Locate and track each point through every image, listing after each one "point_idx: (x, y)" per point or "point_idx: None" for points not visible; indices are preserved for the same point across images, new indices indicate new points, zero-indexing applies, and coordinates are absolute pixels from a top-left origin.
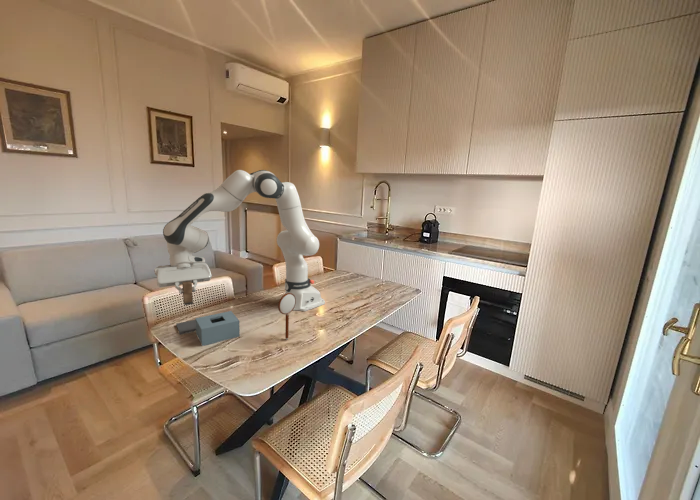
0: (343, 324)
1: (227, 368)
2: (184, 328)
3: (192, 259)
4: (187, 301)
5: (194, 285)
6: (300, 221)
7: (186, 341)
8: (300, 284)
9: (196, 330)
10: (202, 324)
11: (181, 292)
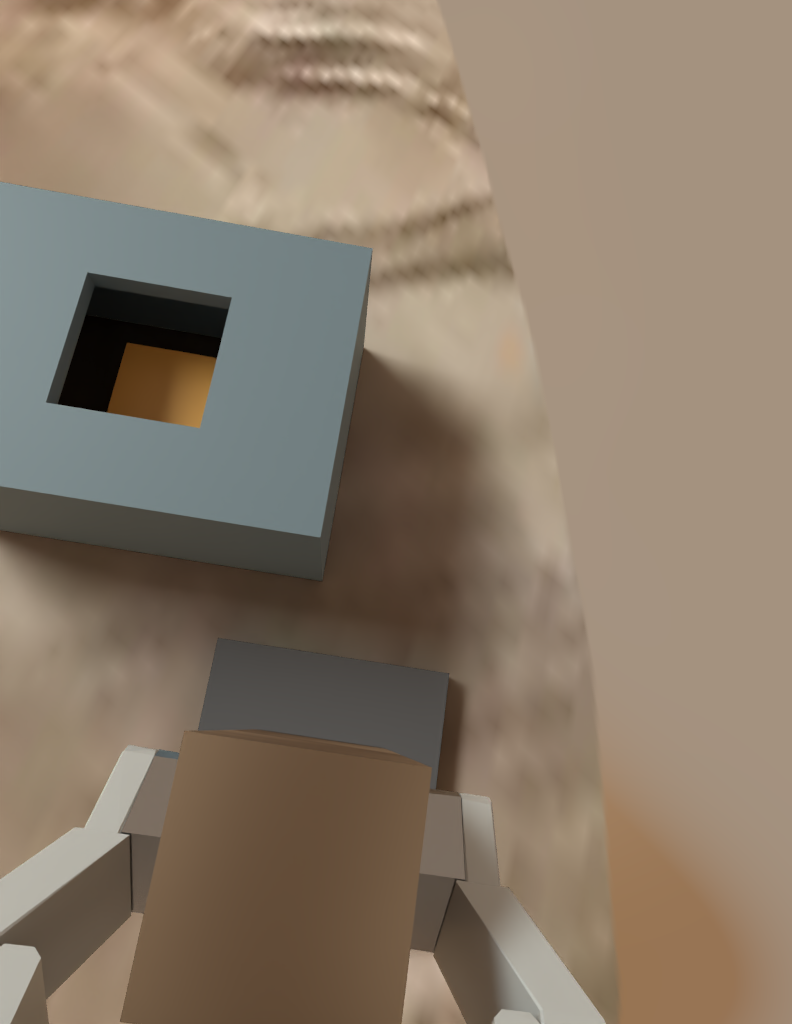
0: None
1: (348, 20)
2: (386, 729)
3: None
4: (341, 742)
5: (86, 853)
6: None
7: (436, 501)
8: None
9: (325, 548)
10: (323, 333)
11: (452, 795)
